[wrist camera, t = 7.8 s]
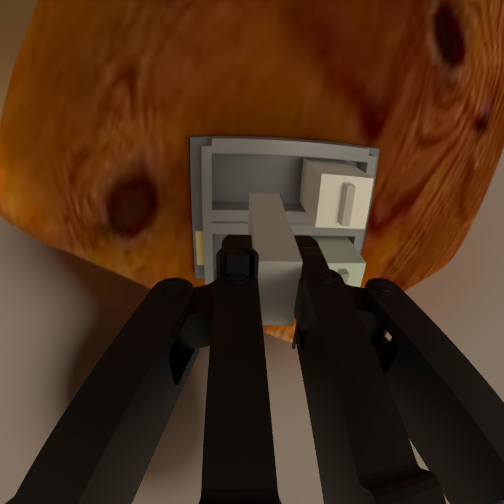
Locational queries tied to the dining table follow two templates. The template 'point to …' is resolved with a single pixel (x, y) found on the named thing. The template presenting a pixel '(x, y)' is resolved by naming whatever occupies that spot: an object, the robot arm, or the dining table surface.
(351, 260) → the sage tab
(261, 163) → the switch bank
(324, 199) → the ivory tab
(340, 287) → the robot arm
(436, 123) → the dining table surface
